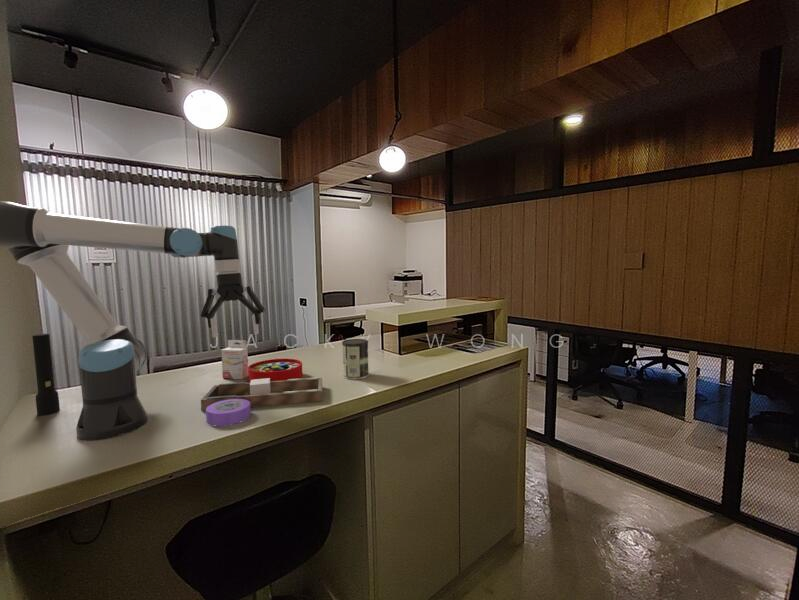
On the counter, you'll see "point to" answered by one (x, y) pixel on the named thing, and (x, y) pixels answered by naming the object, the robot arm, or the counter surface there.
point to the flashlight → (44, 376)
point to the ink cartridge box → (235, 360)
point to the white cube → (260, 386)
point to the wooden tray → (287, 397)
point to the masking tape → (228, 412)
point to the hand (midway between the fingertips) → (236, 335)
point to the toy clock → (276, 369)
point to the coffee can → (355, 359)
